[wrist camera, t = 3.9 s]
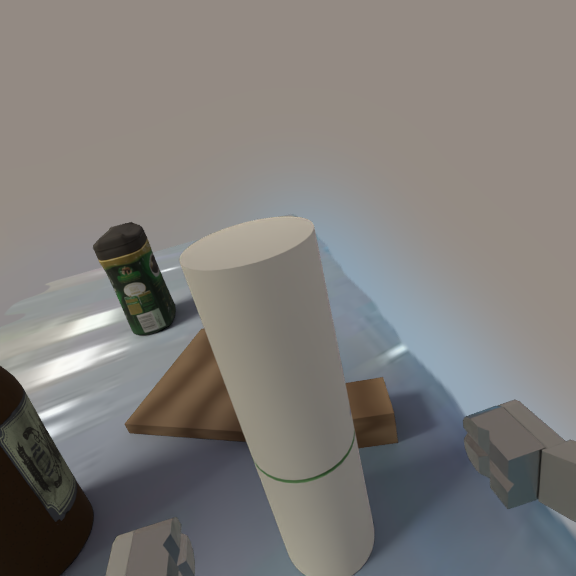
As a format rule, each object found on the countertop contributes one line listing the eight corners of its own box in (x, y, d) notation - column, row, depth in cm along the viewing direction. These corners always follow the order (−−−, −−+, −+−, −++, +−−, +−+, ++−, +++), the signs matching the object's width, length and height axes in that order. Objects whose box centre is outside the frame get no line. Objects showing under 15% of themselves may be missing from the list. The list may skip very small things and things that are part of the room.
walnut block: (346, 451, 37) (339, 421, 36) (340, 413, 42) (334, 384, 40) (398, 443, 37) (394, 412, 35) (387, 406, 41) (382, 377, 40)
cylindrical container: (364, 484, 34) (308, 208, 23) (384, 573, 27) (321, 248, 17) (284, 498, 34) (194, 234, 24) (286, 589, 28) (163, 283, 17)
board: (129, 433, 46) (124, 424, 46) (204, 336, 63) (201, 328, 62) (285, 444, 40) (282, 434, 39) (323, 332, 56) (321, 324, 56)
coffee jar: (139, 316, 76) (99, 226, 68) (179, 305, 76) (143, 215, 68) (129, 342, 67) (81, 243, 59) (174, 329, 68) (132, 229, 60)
